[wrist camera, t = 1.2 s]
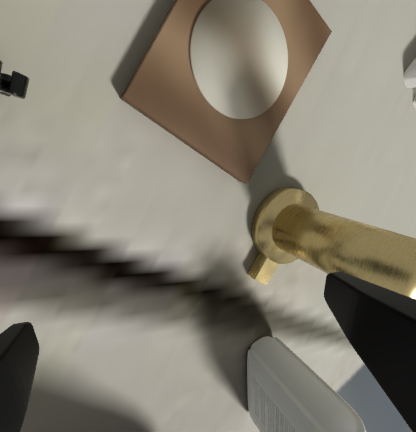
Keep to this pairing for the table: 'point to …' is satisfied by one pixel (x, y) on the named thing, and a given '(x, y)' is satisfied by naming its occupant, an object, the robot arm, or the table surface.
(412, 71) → the white phone stand
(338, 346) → the table surface
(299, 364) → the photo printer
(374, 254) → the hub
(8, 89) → the valve
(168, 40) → the base plate
